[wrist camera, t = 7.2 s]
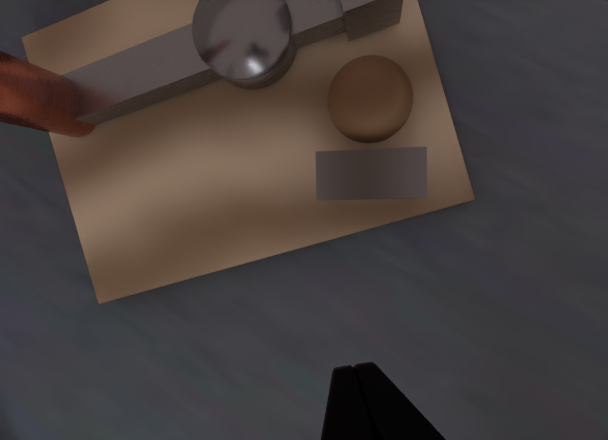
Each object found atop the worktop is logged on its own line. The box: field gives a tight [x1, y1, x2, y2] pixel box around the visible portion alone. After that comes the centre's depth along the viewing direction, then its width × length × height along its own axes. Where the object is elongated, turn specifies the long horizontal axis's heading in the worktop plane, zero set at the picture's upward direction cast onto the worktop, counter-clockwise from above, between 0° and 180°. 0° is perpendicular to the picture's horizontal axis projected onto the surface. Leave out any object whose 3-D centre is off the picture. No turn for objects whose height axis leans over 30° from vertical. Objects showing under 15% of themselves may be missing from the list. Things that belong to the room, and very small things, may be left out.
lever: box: [0, 0, 403, 137], centre depth 14 cm, size 18×4×11 cm, turn 107°
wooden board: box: [22, 0, 475, 304], centre depth 19 cm, size 15×20×4 cm
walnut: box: [327, 55, 413, 143], centre depth 17 cm, size 4×4×4 cm
